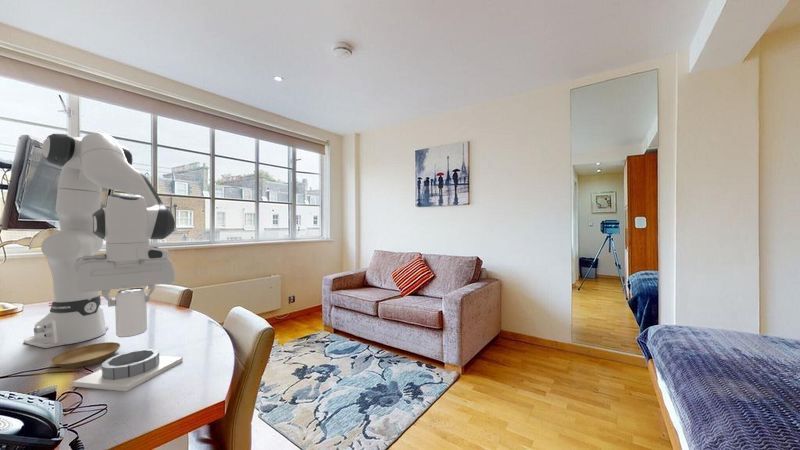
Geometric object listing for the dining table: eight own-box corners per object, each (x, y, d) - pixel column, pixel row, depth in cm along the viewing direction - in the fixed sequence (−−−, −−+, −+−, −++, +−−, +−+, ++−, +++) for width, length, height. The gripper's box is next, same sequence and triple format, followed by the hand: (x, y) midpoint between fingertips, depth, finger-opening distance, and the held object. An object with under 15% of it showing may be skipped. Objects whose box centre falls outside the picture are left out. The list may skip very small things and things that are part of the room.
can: (127, 338, 81) (126, 293, 81) (109, 336, 82) (108, 291, 82) (153, 330, 87) (152, 287, 87) (136, 328, 89) (135, 286, 88)
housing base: (73, 386, 78) (72, 369, 78) (136, 358, 94) (136, 344, 94) (126, 391, 75) (125, 374, 75) (182, 361, 91) (182, 347, 91)
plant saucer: (63, 377, 83) (63, 367, 83) (41, 366, 90) (41, 357, 89) (130, 355, 97) (130, 346, 96) (107, 347, 103) (106, 339, 103)
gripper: (70, 257, 75) (72, 313, 76) (174, 251, 87) (175, 300, 87) (77, 255, 80) (79, 307, 81) (174, 249, 92) (175, 295, 93)
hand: (130, 303), depth 84 cm, fingers closed on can, 6 cm apart
